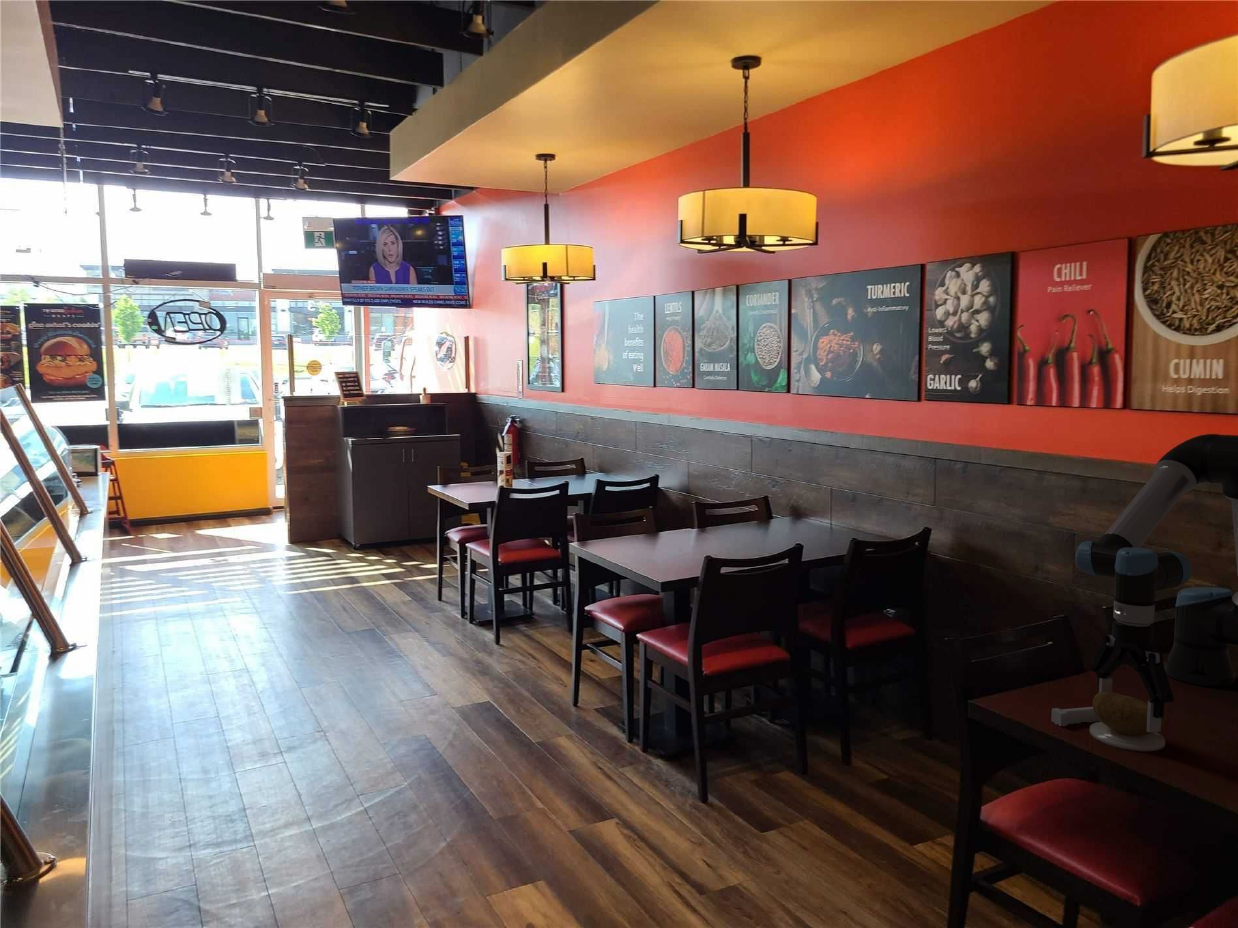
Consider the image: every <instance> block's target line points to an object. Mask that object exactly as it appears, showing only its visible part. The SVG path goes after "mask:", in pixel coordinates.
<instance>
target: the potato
mask: <svg viewBox="0 0 1238 928" xmlns="http://www.w3.org/2000/svg"><path fill="white" fill-rule="evenodd" d="M1091 703H1092V707H1093V710H1094V712H1095V714H1096V716H1097V718H1098V719H1099V720H1100V721H1099V722H1102V723H1104V724H1105V725H1106V726H1107V727H1109V728H1110V729H1112V730H1114V731H1116V732H1118V733H1121V734H1124V735H1147V734H1152V733H1154V732H1150V733H1149V732H1147V712H1148V701H1145V700H1142V699H1139V698H1136V697H1133V696H1130V695H1124V694H1120V693H1116V692H1113V691H1112V692H1100V693H1099V692H1098V693H1097V694H1095V695H1094V697H1093V700H1092V702H1091ZM1167 719H1168V716H1167V713H1166V711H1165V710H1164V716H1163V718H1161V729H1162V728H1164V726H1165V723H1166V721H1167Z"/></svg>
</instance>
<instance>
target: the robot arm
mask: <svg viewBox="0 0 1238 928" xmlns="http://www.w3.org/2000/svg"><path fill="white" fill-rule="evenodd" d="M1153 466H1154V467H1153V468H1152V472H1153V474H1152V476H1151V477H1150V478H1149V479H1148V480H1147V481H1146V483H1145V484H1144V485H1143V486H1142V488H1141V489H1139V491H1138V493H1137V494H1136V495H1135V496H1134V497H1133V499H1132V500H1131V501H1130V502H1129V504H1128V505H1127V506H1126V507H1125V508H1124V509H1123V511H1122V512H1121V513H1120V514H1119V516H1118V517H1117V518H1116V519H1115V520H1114V521H1113V523H1112V524H1111V525H1110V526H1109V528H1108V529H1107V530H1106V531H1105V532H1104V534H1103V535H1102V536H1101V537H1100V538H1099V539H1098V540H1097V541H1095V540H1092V541H1091V540H1086V541H1083V542H1081V543H1080V544H1079V545H1078V547H1077V549H1076V552H1075V555H1074V556H1075V565H1076V567H1077V568H1078V569H1079V570H1080V572H1083V573H1085V574H1090V575H1092V576H1096V577H1103V578H1108V579H1114V595H1113V614H1112V617H1113V619H1114V620H1113V621H1112V628H1111V629H1112V630H1111V635H1110V634H1108V635H1103V637H1102V643H1101V646H1100V648H1099V650H1098V652H1097V654H1096V655H1095V658H1094V660H1093V662H1092V664H1091V666H1090V671H1092V672H1094V673H1095V674H1096V676H1097V690H1098V693H1100V692H1112V693H1113V678H1112V677H1113V675H1112V674H1113V673H1114V672H1115V671H1116V670H1117V669H1118V668H1119V667H1120V666H1121V665H1122V664H1125V665H1126V664H1127V665H1128V666H1129V667H1132V668H1133V669H1134V671H1136V673H1138V675H1139V677H1140V678H1141V681H1142V683H1143V685H1144V687H1145V689H1146V691H1147V693H1148V695H1149V698H1150V700H1147V702H1148V712H1147V732H1149V733H1150V732H1157V733H1159V732H1162V728H1161V718H1163V716H1164V711H1165V703H1173V702H1174V701H1175V698H1174V695H1173V692H1172V689H1171V686H1170V682H1169V678H1168V677H1170V678H1172V679H1175V680H1178V681H1181V682H1184V683H1188V684H1191V685H1192V684H1193V685H1197V686H1198V685H1199V686H1204V687H1216V688H1217V687H1220V688H1221V687H1229V686H1233V685H1234V684H1235V683H1236V682H1235V681H1236V672H1235V670H1234V669H1233V664H1232V660H1231V657H1230V652H1229V645H1230V646H1235V647H1238V591H1237V592H1235V593H1234V594H1233V592H1232V590H1231V589H1228V588H1225V587H1224V588H1223V587H1212V586H1196V587H1195V586H1194V587H1193V586H1192V587H1186V588H1182V589H1181V590H1179V591H1178V592H1177V596H1176V601H1175V602H1176V603H1175V605H1174V607H1175V617H1174V618H1175V619H1174V635H1173V636H1174V638H1173V645H1172V647H1171V649H1170V651H1169V655H1168V656H1167V659H1166V660H1165V662H1164V655H1163V653H1162V652H1160V651H1159V652H1152V651H1151V650H1150V649H1151V648H1150V645H1151V644H1152V643H1153V641H1154V632H1155V631H1154V630H1155V626H1154V625H1153V623H1155V617H1156V614H1155V613H1156V593H1157V592H1158V591H1161V590H1166V589H1173V588H1174V589H1175V588H1178V587H1179V586H1182V585H1184V584H1186V583H1187V582H1189V580H1190V579H1191V577H1192V573H1193V566H1192V564H1191V562H1190V560H1189V559H1188V557H1186V555H1183V554H1182V553H1179V552H1178V551H1177V552H1176V551H1162V552H1157V551H1155V550H1153V549H1150V548H1145V547H1144V548H1142V545H1143V544H1144V543H1145V542H1146V540H1147V539H1148V537H1150V536H1151V534H1152V533H1153V532H1154V531H1155V529H1156V528H1157V527H1158V525H1159V524H1160V523H1161V522H1162V520H1163V519H1164V518H1165V517H1166V516H1167V514H1168V513H1169V512H1170V511H1171V510H1172V508H1173V507H1174V506H1175V505H1176V504H1177V502H1178V501H1179V500H1180V498H1181V497H1182V496H1183V495H1184V494H1185V493H1187V492H1190V491H1192V490H1194V489H1195V487H1196V486H1197V485H1199V484H1203V483H1211V484H1217V485H1218V484H1219V485H1221V488H1222V495H1223V496H1224V497H1225V498H1226V499H1228V500H1229V501H1230V502H1231V513H1232V524H1233V525H1232V526H1233V536H1234V549H1235V560H1236V572H1237V574H1236V575H1238V434H1237V435H1236V434H1218V433H1205V434H1200V435H1197V436H1194V437H1191V438H1189V439H1187V440H1184V441H1183V442H1181V443H1179V444H1178V445H1176V446H1174V447H1173V448H1171V449H1170V450H1169V451H1167V452H1166V453H1165V454H1163V456H1162V457H1161V458H1160V459H1159V460H1158V461H1157V462H1156V464H1155V465H1153ZM1234 682H1235V683H1234ZM1233 683H1234V684H1233Z"/></svg>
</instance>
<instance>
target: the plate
mask: <svg viewBox="0 0 1238 928" xmlns="http://www.w3.org/2000/svg"><path fill="white" fill-rule="evenodd" d="M1089 734H1090V736H1092V737H1093V738H1094V739H1095V740H1097V741H1098V742H1101V743H1103V744H1106V745H1108V746H1111V747H1113V748H1118V749H1122V750H1126V751H1131V752H1133V751H1135V752H1157V751H1161V750H1163V749H1164V748H1166V739H1165V737H1164V736H1163V735H1162V734H1160V733H1159V732H1154V733H1152V734H1147V735H1124V734H1121V733H1118V732H1116V731H1114V730H1112V729H1110V728H1109V727H1107V726H1106V725H1105V724H1104V723H1102V722H1101V721H1098V722H1093V723H1092V724H1091V725H1090V726H1089Z"/></svg>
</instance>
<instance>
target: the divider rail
mask: <svg viewBox="0 0 1238 928" xmlns="http://www.w3.org/2000/svg"><path fill="white" fill-rule="evenodd" d="M1050 720H1051V721H1052V722H1051V723H1053V722H1054V723H1053V724H1055V725H1057V724H1058V725H1059V727H1060V726H1063V727H1067V726H1068V725H1075V723H1076V724H1082V723H1081V722H1087V723H1096V722H1101V721H1100V720H1099V719H1098V718H1097V716H1096V714H1095V712H1094V710H1093V706H1087V707H1076V708H1075V707H1074V708H1065V709H1061V708H1059V707H1055V708H1053V707H1052V708H1051V718H1050ZM1058 725H1057V726H1058Z"/></svg>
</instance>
